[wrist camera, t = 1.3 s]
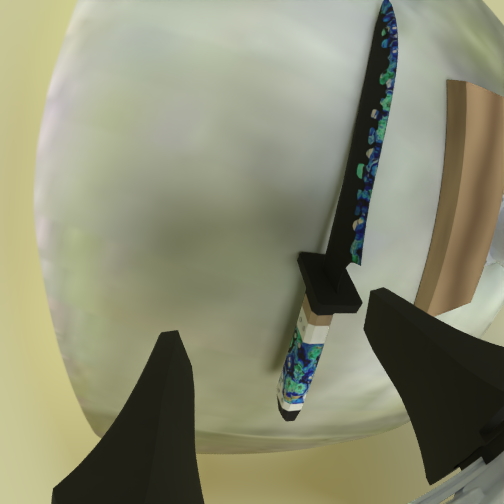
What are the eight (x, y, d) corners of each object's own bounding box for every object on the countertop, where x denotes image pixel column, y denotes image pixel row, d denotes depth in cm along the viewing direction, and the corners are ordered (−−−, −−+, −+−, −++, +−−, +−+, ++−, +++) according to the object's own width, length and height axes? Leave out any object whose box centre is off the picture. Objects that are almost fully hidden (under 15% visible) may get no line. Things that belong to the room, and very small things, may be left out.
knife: (284, 386, 24) (300, 424, 20) (252, 386, 23) (264, 427, 19) (393, 27, 14) (435, 13, 10) (359, 7, 13) (398, -14, 9)
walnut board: (494, 97, 15) (511, 101, 13) (459, 291, 25) (470, 302, 23) (446, 79, 14) (466, 81, 12) (413, 306, 24) (424, 319, 22)
